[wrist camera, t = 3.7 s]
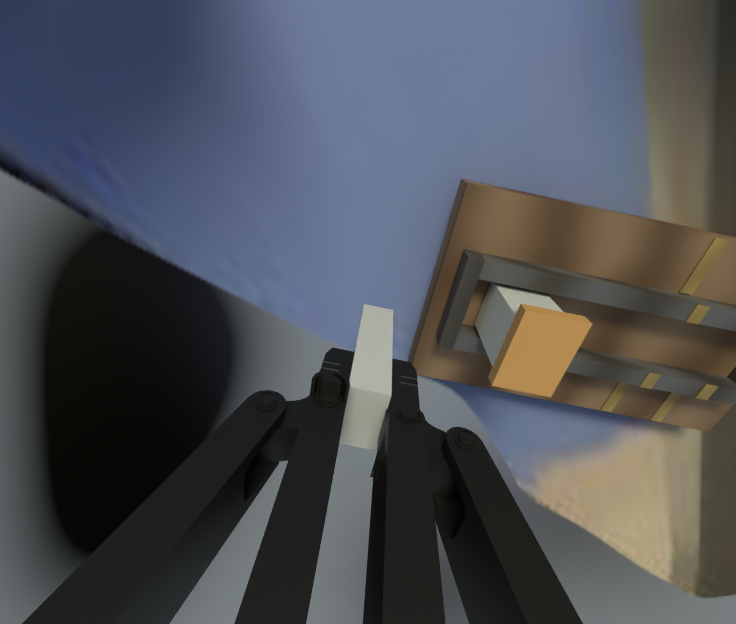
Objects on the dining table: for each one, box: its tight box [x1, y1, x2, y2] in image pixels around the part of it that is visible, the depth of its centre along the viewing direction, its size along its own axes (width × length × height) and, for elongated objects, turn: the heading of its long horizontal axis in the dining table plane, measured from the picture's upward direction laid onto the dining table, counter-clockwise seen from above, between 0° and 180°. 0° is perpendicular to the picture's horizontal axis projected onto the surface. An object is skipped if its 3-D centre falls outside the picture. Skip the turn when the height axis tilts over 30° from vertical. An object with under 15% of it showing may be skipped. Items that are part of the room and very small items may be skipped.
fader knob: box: [475, 282, 592, 397], centre depth 21 cm, size 3×5×6 cm
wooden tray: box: [408, 179, 736, 432], centre depth 24 cm, size 24×14×4 cm, turn 79°
